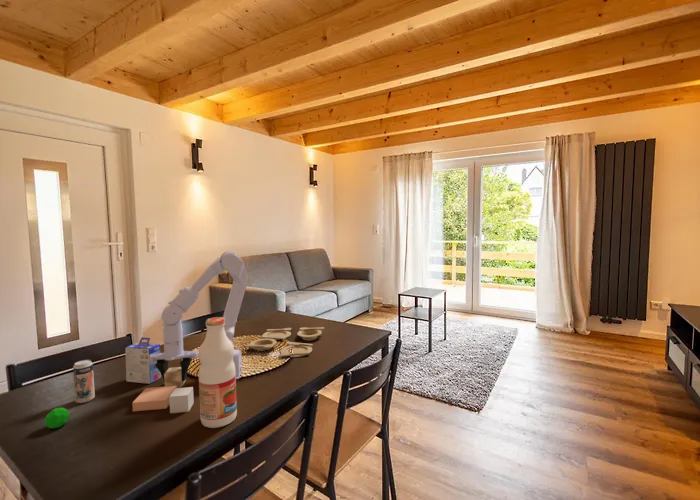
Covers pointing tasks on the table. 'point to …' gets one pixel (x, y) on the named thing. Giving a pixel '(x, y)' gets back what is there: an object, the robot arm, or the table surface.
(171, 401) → the grey cube
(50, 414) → the polyhedron
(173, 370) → the maple cube
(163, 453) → the table surface
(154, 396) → the terracotta block
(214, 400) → the fruit juice
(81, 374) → the beer can
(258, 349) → the tableware set
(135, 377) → the ink cartridge box
